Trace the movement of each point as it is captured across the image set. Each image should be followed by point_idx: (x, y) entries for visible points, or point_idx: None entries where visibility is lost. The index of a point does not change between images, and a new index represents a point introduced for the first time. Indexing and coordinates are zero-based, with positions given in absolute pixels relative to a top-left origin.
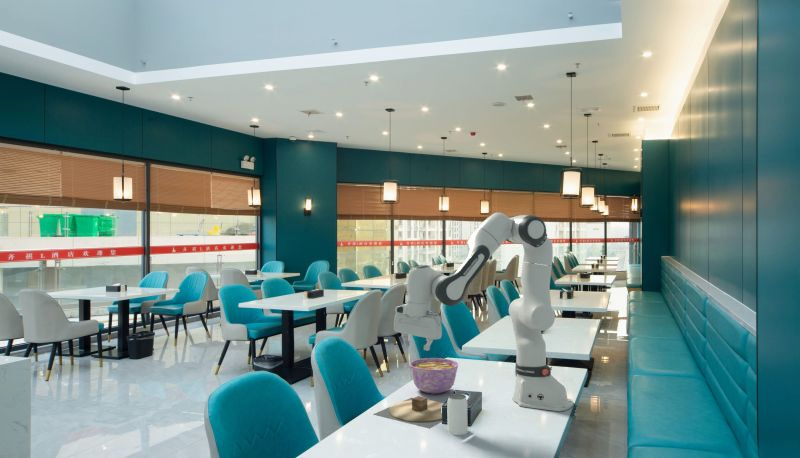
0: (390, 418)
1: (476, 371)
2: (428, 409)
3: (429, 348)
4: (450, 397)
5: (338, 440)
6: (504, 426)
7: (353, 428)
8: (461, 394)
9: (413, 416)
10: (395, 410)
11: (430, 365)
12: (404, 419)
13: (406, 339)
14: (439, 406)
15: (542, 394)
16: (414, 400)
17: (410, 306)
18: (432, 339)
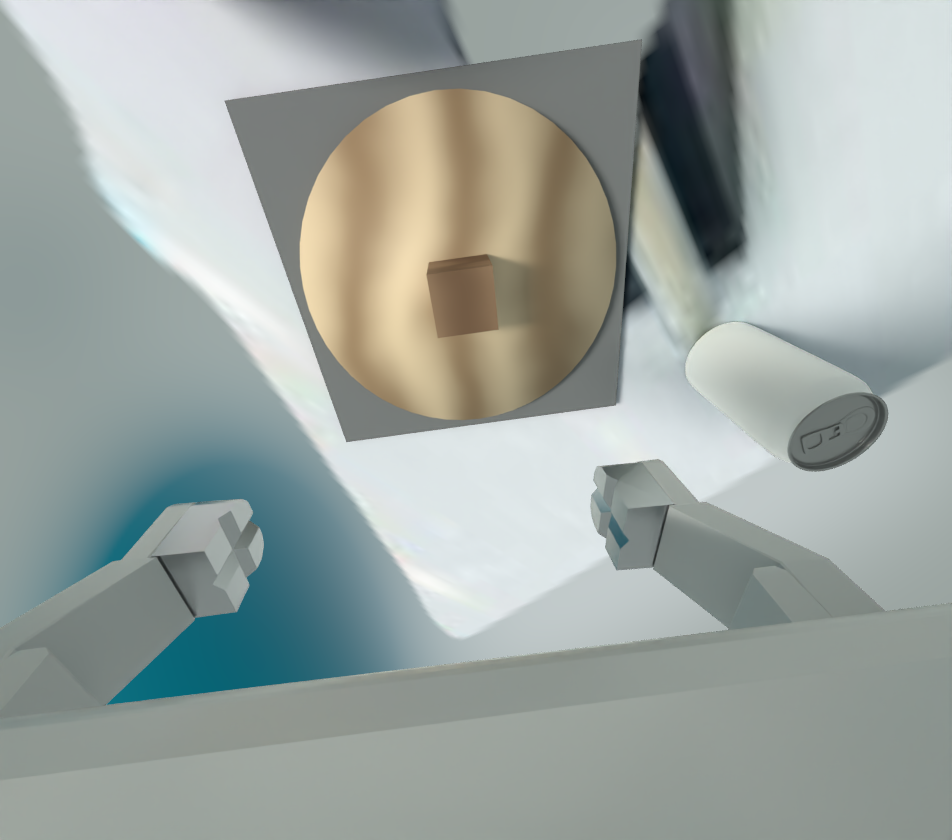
0: (433, 429)
1: None
2: (496, 257)
3: (666, 473)
4: (797, 454)
5: (449, 593)
6: (910, 134)
7: (405, 535)
8: (854, 395)
9: (505, 377)
10: (391, 376)
11: None
12: (492, 414)
13: (145, 604)
14: (511, 165)
15: None
16: (454, 333)
17: None
18: (850, 595)
